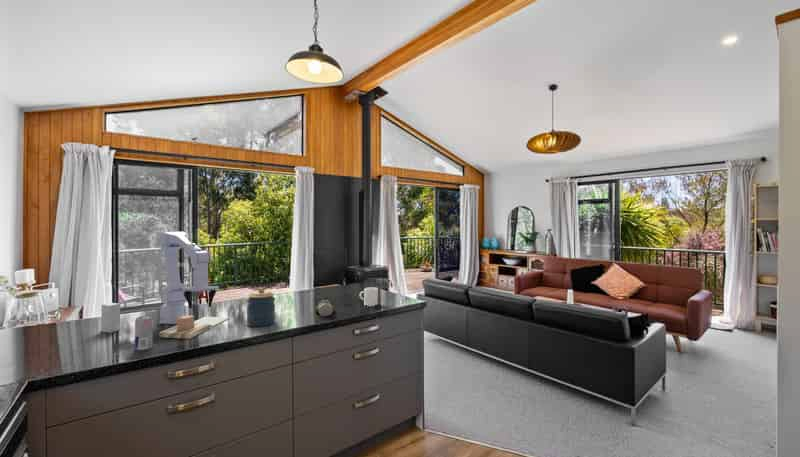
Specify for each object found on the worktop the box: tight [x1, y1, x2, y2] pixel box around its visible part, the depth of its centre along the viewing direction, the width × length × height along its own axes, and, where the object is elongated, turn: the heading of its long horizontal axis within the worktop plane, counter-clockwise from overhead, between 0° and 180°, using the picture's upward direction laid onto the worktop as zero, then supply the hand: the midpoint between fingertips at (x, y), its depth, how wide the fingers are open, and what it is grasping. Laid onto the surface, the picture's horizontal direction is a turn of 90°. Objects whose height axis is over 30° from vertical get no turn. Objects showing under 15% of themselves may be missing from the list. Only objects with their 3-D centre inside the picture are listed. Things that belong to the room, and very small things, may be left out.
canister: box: [246, 287, 276, 328], centre depth 165 cm, size 13×13×18 cm
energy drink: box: [134, 315, 153, 351], centre depth 132 cm, size 5×5×12 cm
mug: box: [358, 286, 379, 307], centre depth 204 cm, size 8×12×10 cm
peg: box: [176, 315, 195, 330], centre depth 151 cm, size 4×4×7 cm
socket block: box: [158, 323, 212, 340], centre depth 151 cm, size 14×14×2 cm
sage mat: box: [194, 316, 230, 327], centre depth 167 cm, size 13×13×1 cm
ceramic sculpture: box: [313, 298, 335, 317], centre depth 184 cm, size 11×9×15 cm
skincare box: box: [100, 302, 121, 333], centre depth 151 cm, size 6×4×12 cm
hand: (200, 307), depth 154 cm, fingers open, 7 cm apart
